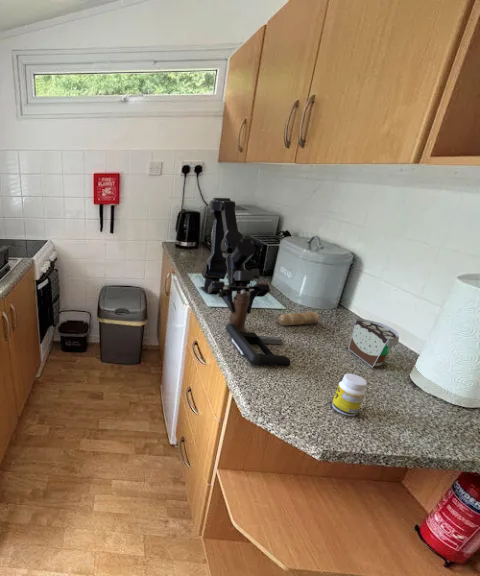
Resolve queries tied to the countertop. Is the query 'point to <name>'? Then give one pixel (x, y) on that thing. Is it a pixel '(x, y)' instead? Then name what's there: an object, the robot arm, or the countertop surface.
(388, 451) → the countertop surface
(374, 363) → the food container
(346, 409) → the supplement bottle
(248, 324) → the countertop surface
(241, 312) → the pepper mill
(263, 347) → the door handle
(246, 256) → the robot arm
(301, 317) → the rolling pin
